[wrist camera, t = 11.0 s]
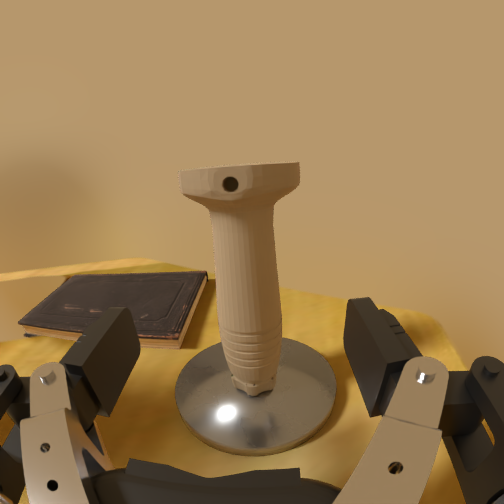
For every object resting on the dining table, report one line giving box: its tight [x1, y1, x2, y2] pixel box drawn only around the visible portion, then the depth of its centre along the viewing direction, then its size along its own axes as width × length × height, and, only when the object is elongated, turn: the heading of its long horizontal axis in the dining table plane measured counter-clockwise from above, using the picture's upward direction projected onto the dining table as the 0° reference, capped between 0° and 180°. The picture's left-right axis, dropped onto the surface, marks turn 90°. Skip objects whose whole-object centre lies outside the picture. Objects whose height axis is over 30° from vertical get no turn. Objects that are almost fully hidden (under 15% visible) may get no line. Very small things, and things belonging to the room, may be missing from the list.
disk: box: [175, 338, 336, 456], centre depth 20 cm, size 12×12×1 cm
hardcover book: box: [18, 271, 208, 349], centre depth 33 cm, size 16×23×2 cm
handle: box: [178, 162, 300, 396], centre depth 17 cm, size 5×6×15 cm
